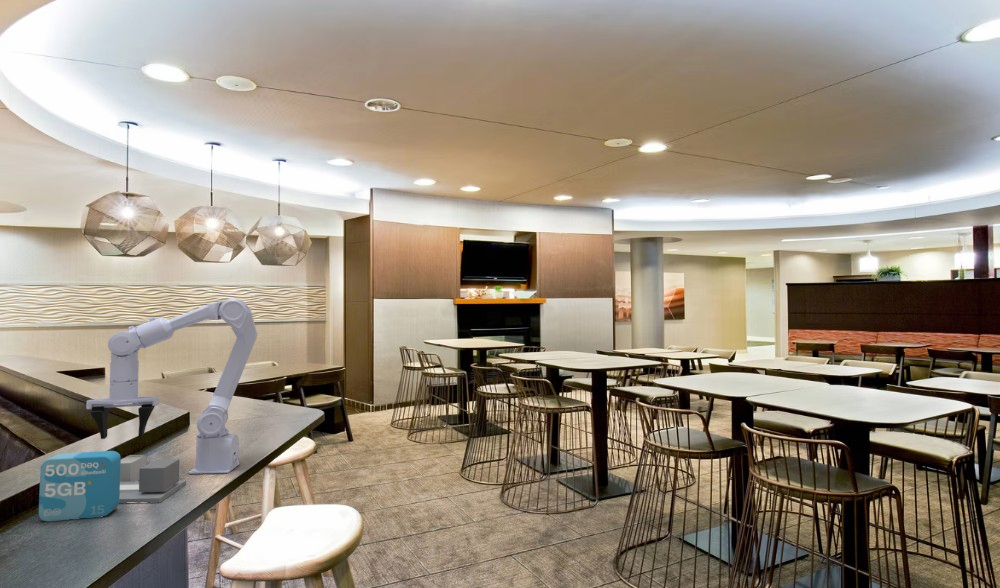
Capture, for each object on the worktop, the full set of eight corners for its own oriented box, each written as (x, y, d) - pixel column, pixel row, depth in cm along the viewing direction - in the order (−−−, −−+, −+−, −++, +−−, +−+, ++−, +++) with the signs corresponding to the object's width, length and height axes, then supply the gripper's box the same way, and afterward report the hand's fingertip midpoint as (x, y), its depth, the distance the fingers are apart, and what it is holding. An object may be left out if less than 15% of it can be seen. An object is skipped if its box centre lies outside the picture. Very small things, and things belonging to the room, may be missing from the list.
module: (145, 475, 134) (146, 454, 134) (130, 484, 127) (130, 462, 127) (128, 476, 133) (129, 454, 133) (111, 485, 126) (112, 462, 126)
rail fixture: (185, 484, 127) (186, 456, 127) (159, 502, 115) (160, 471, 115) (93, 486, 125) (94, 457, 125) (57, 505, 113) (58, 473, 113)
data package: (37, 522, 104) (40, 459, 104) (50, 514, 108) (52, 453, 109) (109, 517, 107) (112, 455, 107) (119, 509, 111) (121, 450, 112)
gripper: (162, 377, 138) (161, 431, 138) (94, 379, 133) (92, 435, 133) (155, 380, 132) (154, 437, 131) (83, 383, 127) (82, 442, 126)
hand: (122, 436), depth 132 cm, fingers open, 7 cm apart
